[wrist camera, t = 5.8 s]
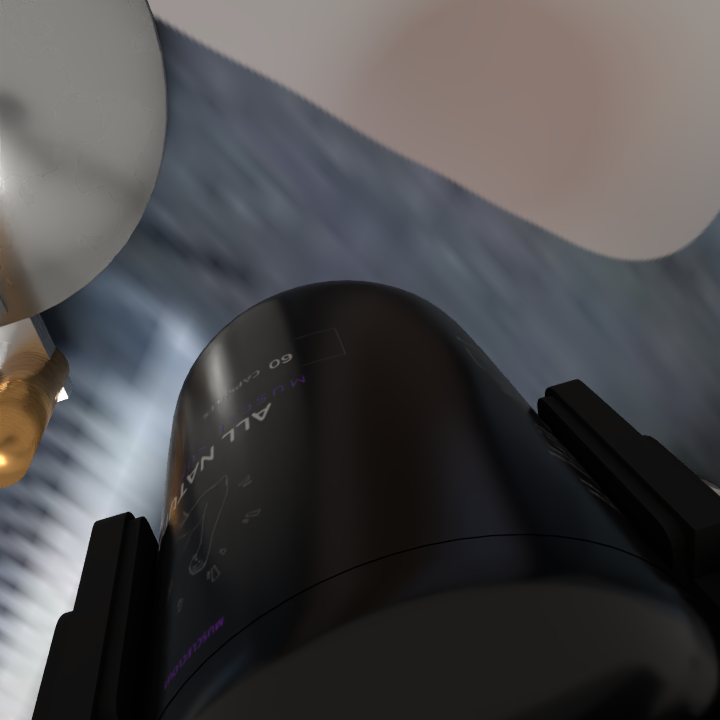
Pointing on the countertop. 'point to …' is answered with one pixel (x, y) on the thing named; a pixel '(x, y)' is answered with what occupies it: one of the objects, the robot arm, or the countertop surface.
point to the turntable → (67, 181)
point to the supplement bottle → (398, 538)
